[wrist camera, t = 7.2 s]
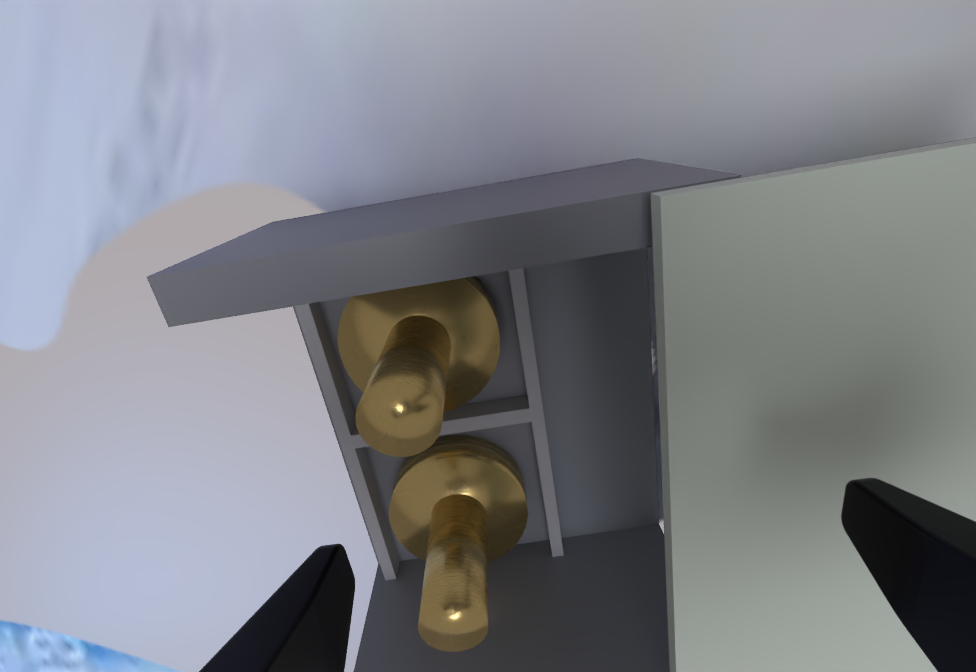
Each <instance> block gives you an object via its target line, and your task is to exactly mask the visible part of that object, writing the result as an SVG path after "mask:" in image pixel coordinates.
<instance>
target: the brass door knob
mask: <svg viewBox="0 0 976 672" xmlns="http://www.w3.org/2000/svg"><path fill="white" fill-rule="evenodd" d="M338 347H339V352H340V356H341V360H342V362H343V365H344V367H345V369H346V371H347V373H348V375H349V376H350V378H351V379H352V380H353V382H354V383H355V384H356V386H357V387H358V388H359V389H360V390H361V391H362V392H363V395H362V397H361V400H360V402H359V404H358V407H357V410H356V416H355V420H356V426H357V429H358V432H359V434H360V435H361V437H362V438H363V440H364V441H365V442H366V443H367V444H368V445H369V446H370V447H372V448H373V449H375V450H376V451H378V452H380V453H383V454H386V455H390V456H395V457H407V456H412V455H416V454H419V453H421V452H423V451H425V450H426V449H428V448H429V447H430V446H431V445H432V444H433V443H434V442H435V441H436V439H437V438H438V436H439V434H440V431H441V426H442V418H443V412H447V411H450V410H453V409H456V408H458V407H460V406H462V405H464V404H465V403H467V402H468V401H470V400H472V399H473V398H474V397H475V396H476V395H477V394H479V393H480V392H481V390H482V389H483V388H484V387H485V386H486V385H487V383H488V382H489V380H490V379H491V377H492V375H493V373H494V371H495V368H496V365H497V363H498V358H499V353H500V335H499V326H498V317H497V312H496V308H495V305H494V303H493V300H492V298H491V296H490V295H489V293H488V291H487V289H486V288H485V287H484V285H483V284H482V283H481V282H480V281H479V280H478V279H477V278H476V277H475V276H472V277H466V278H460V279H454V280H448V281H442V282H436V283H430V284H424V285H418V286H412V287H406V288H400V289H394V290H388V291H382V292H376V293H370V294H364V295H358V296H352V297H351V298H350V300H349V301H348V303H347V305H346V306H345V308H344V310H343V313H342V316H341V319H340V323H339V328H338Z"/></svg>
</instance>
